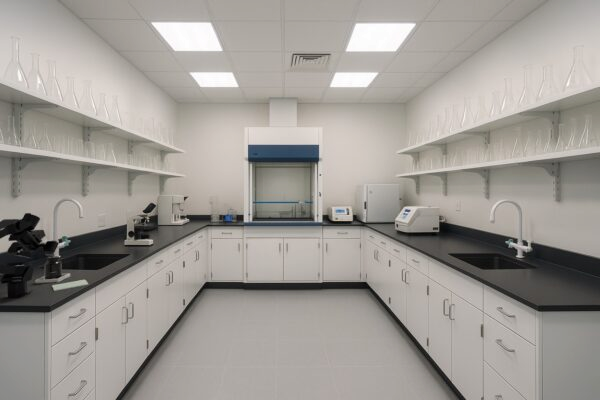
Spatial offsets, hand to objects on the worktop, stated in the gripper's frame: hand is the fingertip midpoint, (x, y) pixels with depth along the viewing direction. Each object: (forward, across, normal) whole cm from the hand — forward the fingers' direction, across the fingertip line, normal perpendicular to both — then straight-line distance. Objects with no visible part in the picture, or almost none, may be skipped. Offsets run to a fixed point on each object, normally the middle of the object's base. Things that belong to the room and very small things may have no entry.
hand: (42, 257), depth 144 cm
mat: (+6, -15, +13) cm, 21 cm away
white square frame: (+15, 0, +4) cm, 16 cm away
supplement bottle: (+15, 0, +4) cm, 16 cm away
